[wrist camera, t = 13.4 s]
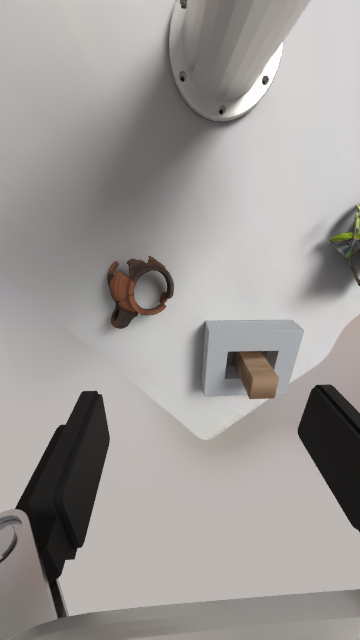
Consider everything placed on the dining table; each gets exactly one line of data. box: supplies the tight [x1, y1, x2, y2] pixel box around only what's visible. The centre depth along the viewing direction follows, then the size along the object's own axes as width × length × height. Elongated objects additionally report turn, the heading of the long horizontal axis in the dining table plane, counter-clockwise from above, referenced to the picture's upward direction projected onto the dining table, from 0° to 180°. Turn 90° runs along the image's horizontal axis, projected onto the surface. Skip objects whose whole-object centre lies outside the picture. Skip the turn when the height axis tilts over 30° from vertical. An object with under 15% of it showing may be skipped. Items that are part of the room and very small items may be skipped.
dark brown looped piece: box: [108, 256, 174, 329], centre depth 34 cm, size 12×10×8 cm
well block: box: [201, 320, 304, 396], centre depth 41 cm, size 14×16×4 cm
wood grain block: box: [233, 351, 279, 399], centre depth 38 cm, size 4×4×10 cm
